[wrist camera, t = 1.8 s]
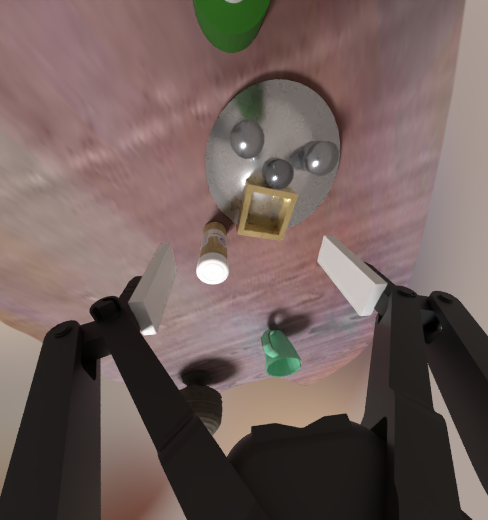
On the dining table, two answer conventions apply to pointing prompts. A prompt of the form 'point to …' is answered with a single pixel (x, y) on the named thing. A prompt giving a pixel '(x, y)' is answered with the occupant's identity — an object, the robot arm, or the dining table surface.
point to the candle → (230, 21)
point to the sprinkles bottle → (213, 254)
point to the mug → (279, 354)
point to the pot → (203, 399)
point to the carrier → (272, 157)
